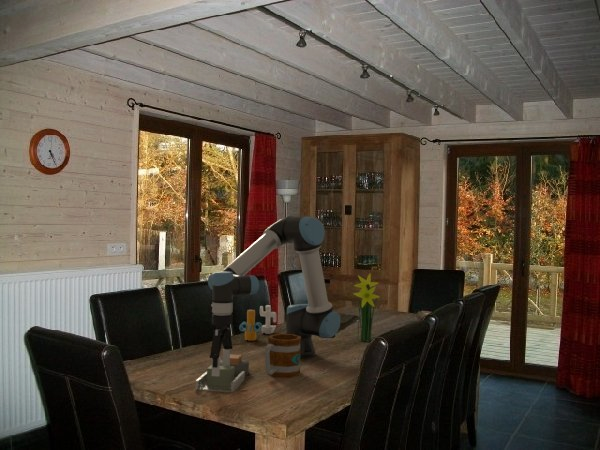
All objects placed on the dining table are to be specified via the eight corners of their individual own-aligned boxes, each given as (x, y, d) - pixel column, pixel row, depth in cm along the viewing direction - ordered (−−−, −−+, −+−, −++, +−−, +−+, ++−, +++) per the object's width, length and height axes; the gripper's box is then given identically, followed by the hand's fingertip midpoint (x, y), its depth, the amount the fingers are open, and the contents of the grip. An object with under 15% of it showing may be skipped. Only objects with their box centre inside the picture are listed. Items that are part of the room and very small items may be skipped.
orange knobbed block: (266, 339, 294) (266, 310, 294) (254, 343, 285) (254, 312, 285) (247, 336, 301) (248, 307, 301) (234, 339, 292) (235, 310, 292)
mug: (278, 368, 238) (279, 332, 238) (307, 373, 231) (307, 336, 231) (251, 379, 221) (252, 340, 221) (280, 385, 214) (281, 344, 214)
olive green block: (234, 382, 214) (234, 366, 214) (230, 386, 209) (231, 369, 209) (210, 381, 215) (211, 365, 215) (206, 384, 210) (207, 368, 210)
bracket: (244, 380, 219) (244, 371, 219) (233, 392, 203) (233, 383, 203) (208, 378, 221) (209, 369, 221) (195, 390, 205) (195, 380, 205)
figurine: (273, 335, 306) (274, 306, 306) (257, 333, 309) (257, 305, 309) (278, 332, 313) (278, 305, 313) (261, 331, 316) (262, 304, 316)
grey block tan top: (251, 370, 233) (252, 353, 233) (244, 379, 220) (244, 361, 220) (220, 368, 235) (221, 351, 235) (211, 377, 222) (211, 359, 222)
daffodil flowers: (377, 347, 282) (379, 276, 282) (348, 344, 287) (349, 274, 286) (382, 340, 299) (384, 273, 298) (354, 338, 303) (356, 271, 303)
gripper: (221, 308, 224) (220, 362, 225) (201, 318, 200) (200, 379, 200) (240, 309, 223) (239, 363, 224) (222, 319, 199) (221, 381, 199)
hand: (221, 371), depth 212 cm, fingers open, 13 cm apart
